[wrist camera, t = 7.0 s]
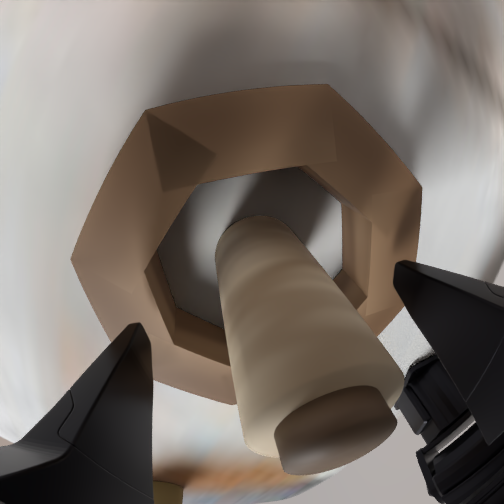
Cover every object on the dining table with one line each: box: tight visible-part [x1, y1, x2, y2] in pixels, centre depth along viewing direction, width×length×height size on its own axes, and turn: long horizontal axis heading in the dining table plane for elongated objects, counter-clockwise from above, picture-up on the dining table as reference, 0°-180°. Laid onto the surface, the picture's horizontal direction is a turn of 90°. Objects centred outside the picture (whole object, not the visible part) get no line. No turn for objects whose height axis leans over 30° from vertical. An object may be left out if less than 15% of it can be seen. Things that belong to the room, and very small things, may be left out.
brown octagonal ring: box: [71, 84, 422, 405], centre depth 11 cm, size 13×13×2 cm
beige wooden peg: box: [215, 216, 405, 475], centre depth 8 cm, size 4×4×9 cm
